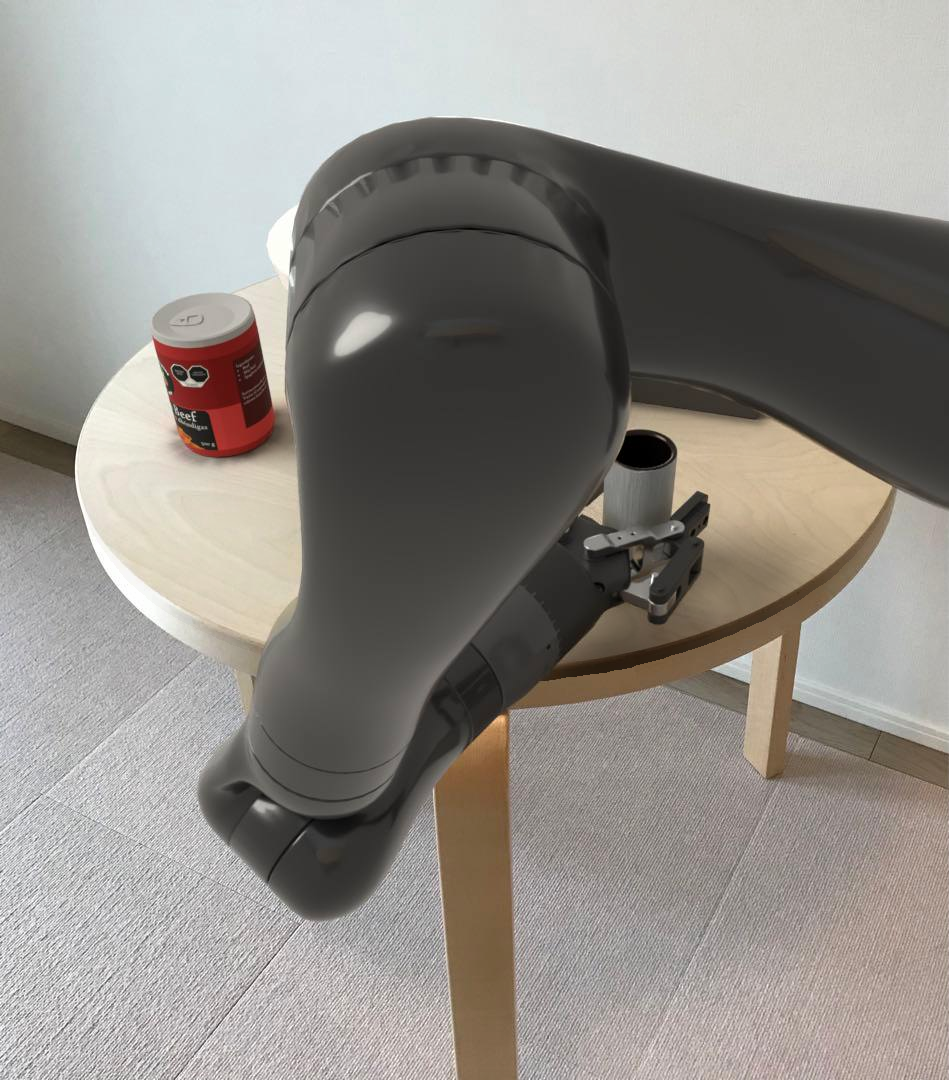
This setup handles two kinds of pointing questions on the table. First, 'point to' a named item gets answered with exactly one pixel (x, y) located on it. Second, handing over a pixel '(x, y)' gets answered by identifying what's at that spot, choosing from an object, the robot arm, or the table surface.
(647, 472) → the planter
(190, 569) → the table surface
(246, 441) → the canned food
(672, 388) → the scale
